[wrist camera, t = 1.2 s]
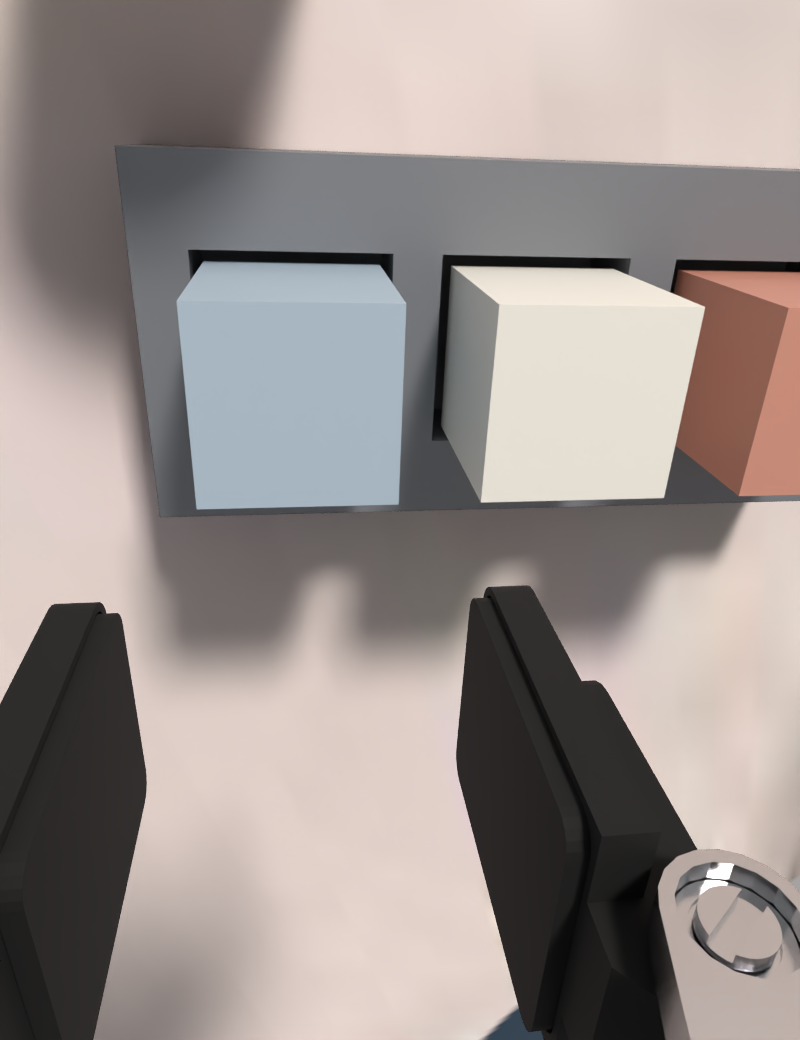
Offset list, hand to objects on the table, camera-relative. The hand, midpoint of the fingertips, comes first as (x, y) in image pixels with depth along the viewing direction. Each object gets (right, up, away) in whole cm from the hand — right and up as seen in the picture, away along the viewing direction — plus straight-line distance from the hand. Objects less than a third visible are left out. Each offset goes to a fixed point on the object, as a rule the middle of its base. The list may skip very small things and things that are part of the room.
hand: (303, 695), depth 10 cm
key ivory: (+6, +8, +17) cm, 20 cm away
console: (+5, +10, +20) cm, 23 cm away
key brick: (+14, +9, +18) cm, 24 cm away
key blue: (-2, +8, +16) cm, 18 cm away
